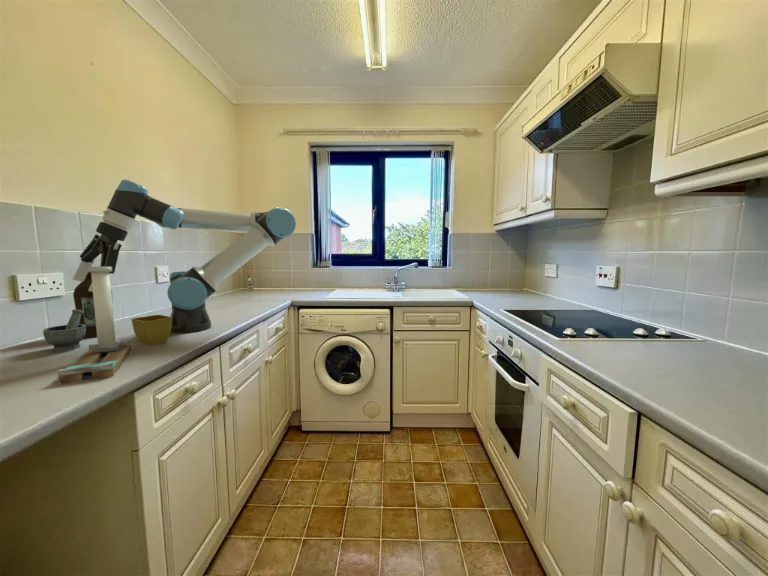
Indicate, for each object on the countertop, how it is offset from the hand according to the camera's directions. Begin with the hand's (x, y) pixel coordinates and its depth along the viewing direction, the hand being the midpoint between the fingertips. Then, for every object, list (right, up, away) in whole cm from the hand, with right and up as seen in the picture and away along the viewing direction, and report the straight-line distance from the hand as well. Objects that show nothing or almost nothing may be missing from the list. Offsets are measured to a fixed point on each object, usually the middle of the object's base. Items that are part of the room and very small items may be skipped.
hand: (85, 286), depth 103 cm
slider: (+14, -19, -8) cm, 24 cm away
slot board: (+17, -22, -14) cm, 31 cm away
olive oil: (-11, -18, +17) cm, 27 cm away
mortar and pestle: (-6, -20, +1) cm, 21 cm away
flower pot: (+17, -20, +7) cm, 27 cm away
